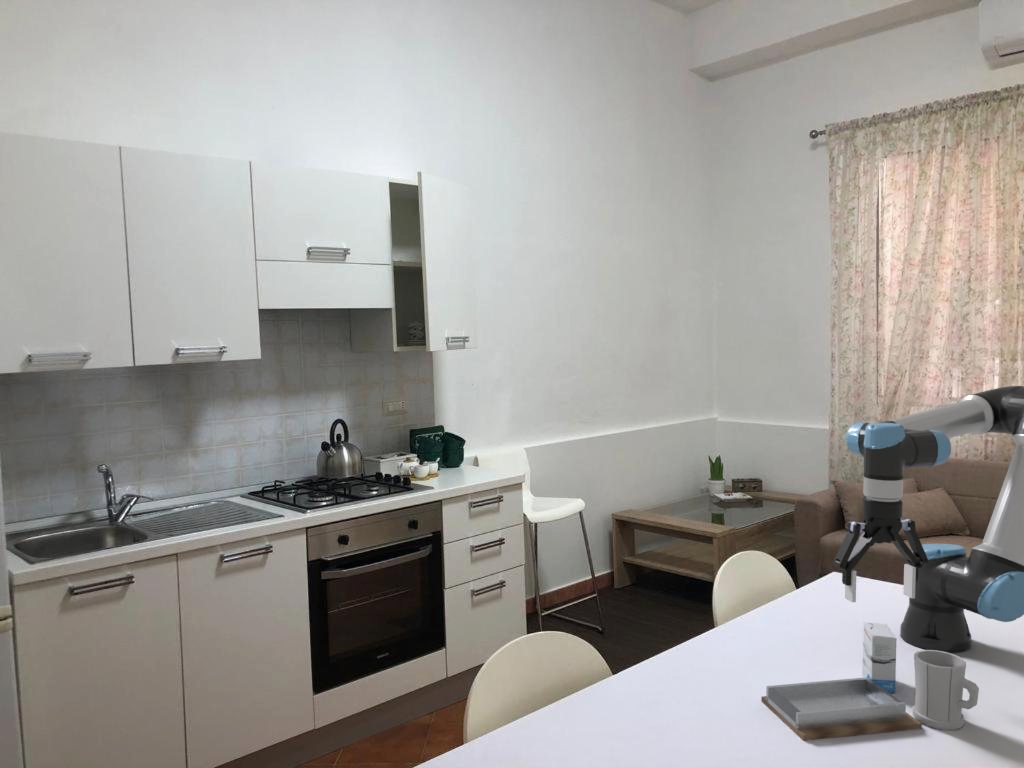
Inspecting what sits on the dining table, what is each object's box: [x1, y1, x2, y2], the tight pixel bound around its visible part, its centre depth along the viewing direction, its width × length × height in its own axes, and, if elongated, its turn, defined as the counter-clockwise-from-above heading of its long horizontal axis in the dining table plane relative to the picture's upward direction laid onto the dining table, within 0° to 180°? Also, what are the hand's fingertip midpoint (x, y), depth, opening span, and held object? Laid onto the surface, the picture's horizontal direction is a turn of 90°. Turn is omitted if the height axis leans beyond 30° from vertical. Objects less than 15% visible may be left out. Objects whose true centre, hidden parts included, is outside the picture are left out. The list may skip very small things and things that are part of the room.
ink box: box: [861, 621, 897, 694], centre depth 172 cm, size 8×5×12 cm, turn 168°
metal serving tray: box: [765, 677, 907, 730], centre depth 159 cm, size 22×12×3 cm, turn 100°
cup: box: [912, 649, 980, 731], centre depth 156 cm, size 10×9×12 cm
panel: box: [760, 695, 923, 742], centre depth 159 cm, size 24×16×1 cm, turn 100°
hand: (879, 598), depth 172 cm, fingers open, 13 cm apart
